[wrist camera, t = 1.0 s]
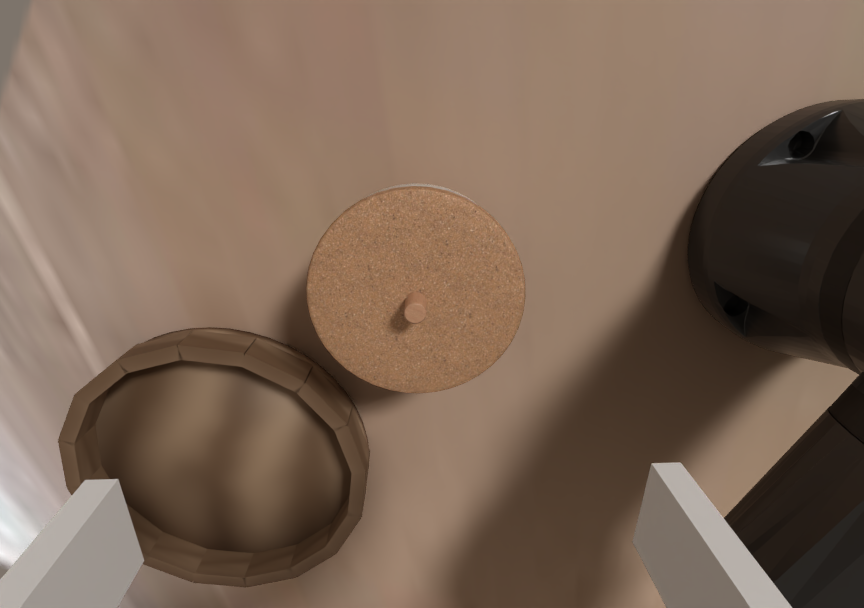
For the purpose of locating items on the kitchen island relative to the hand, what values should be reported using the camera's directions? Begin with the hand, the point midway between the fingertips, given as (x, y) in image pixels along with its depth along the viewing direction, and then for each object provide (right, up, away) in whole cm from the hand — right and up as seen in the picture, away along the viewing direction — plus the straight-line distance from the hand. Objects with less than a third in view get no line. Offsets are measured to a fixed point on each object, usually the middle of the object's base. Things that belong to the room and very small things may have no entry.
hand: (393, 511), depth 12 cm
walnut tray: (-14, -6, +24) cm, 28 cm away
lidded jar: (0, +8, +18) cm, 20 cm away
